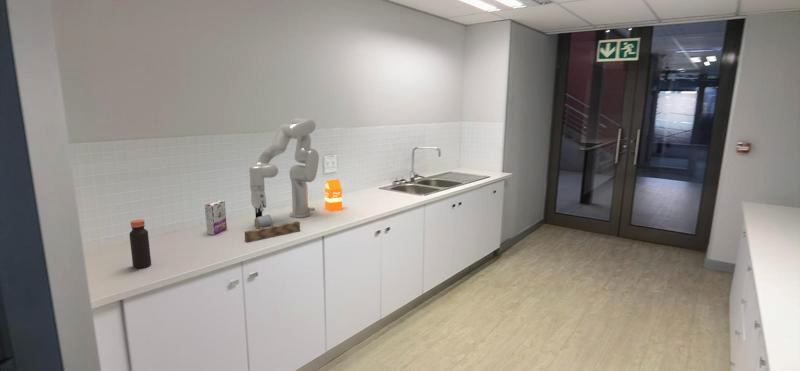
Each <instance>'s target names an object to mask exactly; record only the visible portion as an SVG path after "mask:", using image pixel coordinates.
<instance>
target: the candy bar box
mask: <svg viewBox="0 0 800 371" xmlns="http://www.w3.org/2000/svg"><path fill="white" fill-rule="evenodd" d="M204 210H205V211H204V212H205V213H204V214H205V223H206V232H207V233H206V234H207V235H210V236H216V235H217V234H221V233H223V232H224V231H226V230H228V227H227V226H228V225H227V217H226V216H227V215H226V213H227V211H226V202H225V200H214V201H212V202H209V203H207V204H204Z"/></svg>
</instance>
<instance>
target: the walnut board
mask: <svg viewBox="0 0 800 371" xmlns="http://www.w3.org/2000/svg"><path fill="white" fill-rule="evenodd" d="M300 225H301V222H300V221H297V220H296V221H292V222H287V223H282V224H276V225H273V226H270V227H265V228H260V229H256V228H255V229H252V230H251V229H250V230H246V231H244V232H243V233H244V242H246V243H250V242H255V241H260V240H265V239H268V238H274V237H278V236H283V235H287V234H292V233H297V232H300V231H301V226H300Z"/></svg>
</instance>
